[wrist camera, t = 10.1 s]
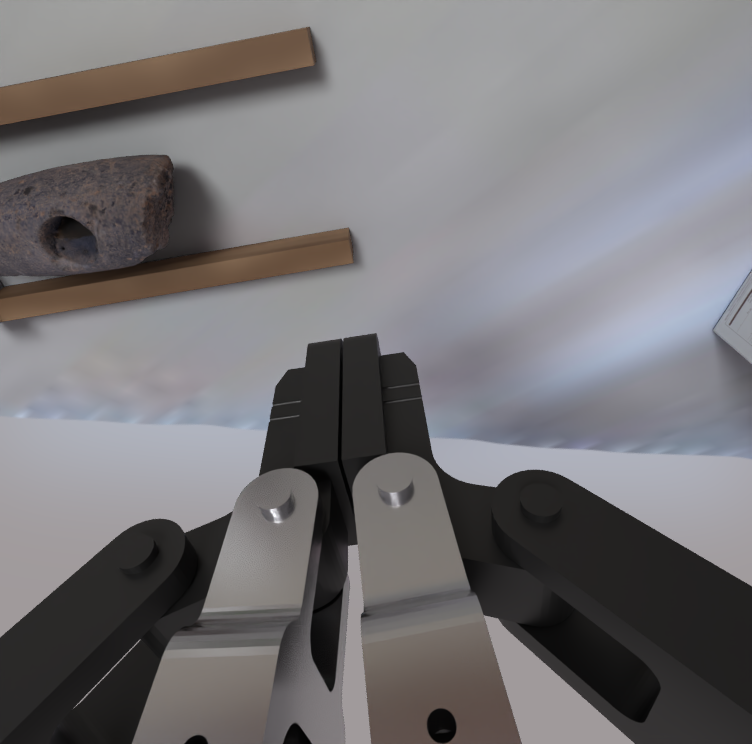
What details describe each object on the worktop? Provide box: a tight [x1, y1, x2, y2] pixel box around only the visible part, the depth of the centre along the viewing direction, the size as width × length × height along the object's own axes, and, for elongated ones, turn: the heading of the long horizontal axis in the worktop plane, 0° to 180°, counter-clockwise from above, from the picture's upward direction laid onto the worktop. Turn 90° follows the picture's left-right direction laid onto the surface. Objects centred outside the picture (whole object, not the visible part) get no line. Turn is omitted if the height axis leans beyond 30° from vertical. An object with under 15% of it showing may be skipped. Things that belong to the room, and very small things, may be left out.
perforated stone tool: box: [0, 155, 174, 276], centre depth 27 cm, size 15×5×7 cm, turn 97°
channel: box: [0, 27, 353, 322], centre depth 28 cm, size 12×25×4 cm, turn 99°
